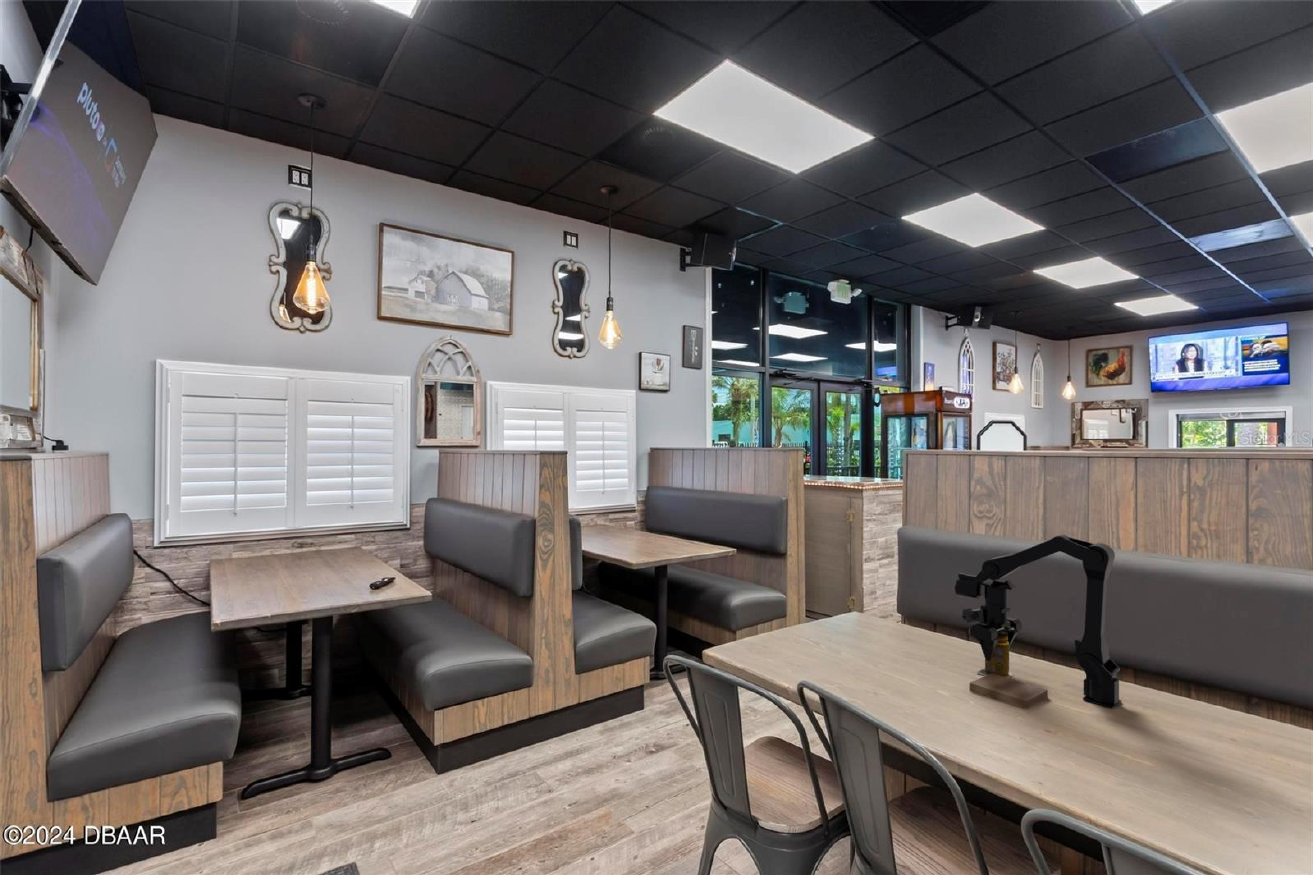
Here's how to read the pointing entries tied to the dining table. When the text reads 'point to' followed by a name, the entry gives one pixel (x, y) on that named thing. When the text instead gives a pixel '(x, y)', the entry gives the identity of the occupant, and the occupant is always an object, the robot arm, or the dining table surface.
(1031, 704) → the stand
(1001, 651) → the condiment
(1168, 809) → the dining table surface
